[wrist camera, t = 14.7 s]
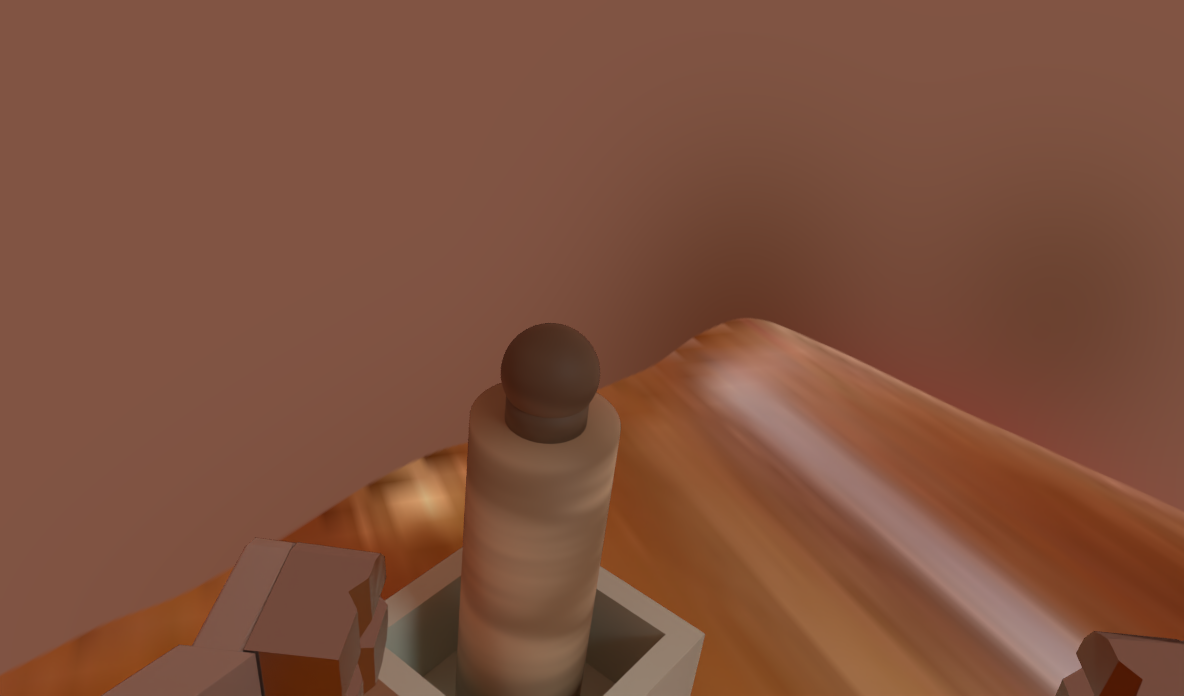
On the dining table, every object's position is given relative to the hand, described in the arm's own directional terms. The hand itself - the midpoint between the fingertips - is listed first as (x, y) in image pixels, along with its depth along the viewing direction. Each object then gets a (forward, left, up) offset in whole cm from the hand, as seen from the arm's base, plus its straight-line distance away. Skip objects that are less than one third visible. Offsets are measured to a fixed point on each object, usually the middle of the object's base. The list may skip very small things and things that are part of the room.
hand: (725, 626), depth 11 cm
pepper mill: (-11, -11, -21) cm, 26 cm away
